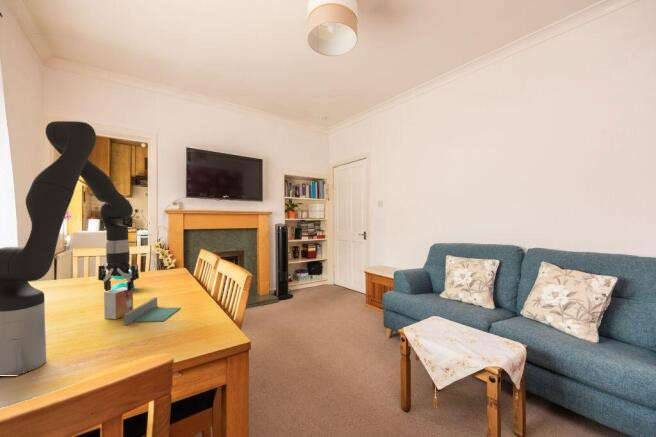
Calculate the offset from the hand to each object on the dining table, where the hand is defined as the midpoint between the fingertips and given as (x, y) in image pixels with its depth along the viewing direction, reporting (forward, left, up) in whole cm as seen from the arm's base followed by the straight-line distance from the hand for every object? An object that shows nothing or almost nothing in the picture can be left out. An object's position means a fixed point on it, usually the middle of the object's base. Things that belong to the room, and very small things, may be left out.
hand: (119, 290), depth 113 cm
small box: (0, 0, -11) cm, 11 cm away
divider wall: (0, -9, -10) cm, 14 cm away
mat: (0, -15, -10) cm, 19 cm away
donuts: (+35, +21, -11) cm, 42 cm away
